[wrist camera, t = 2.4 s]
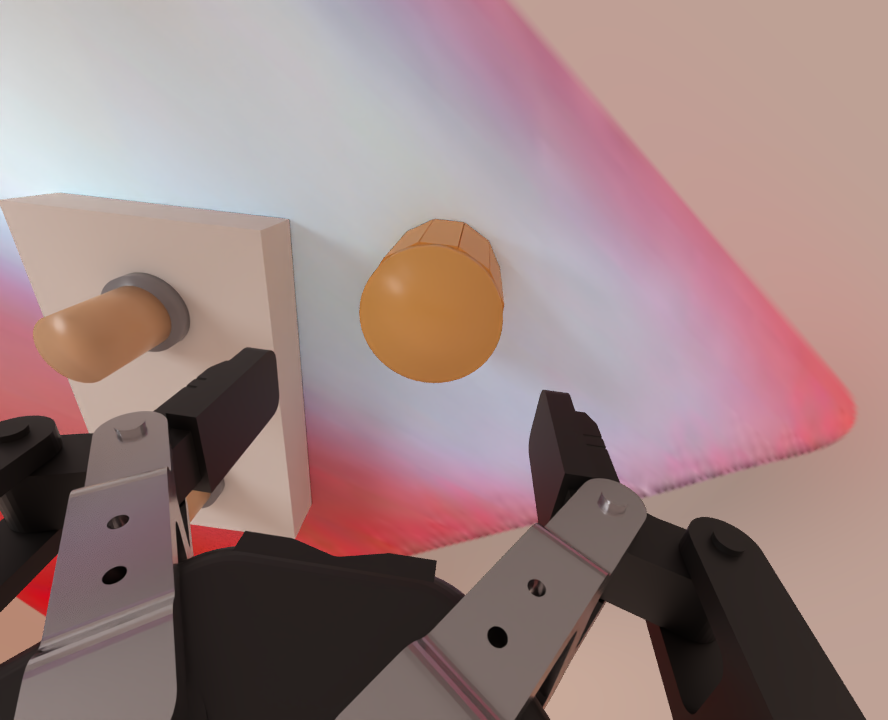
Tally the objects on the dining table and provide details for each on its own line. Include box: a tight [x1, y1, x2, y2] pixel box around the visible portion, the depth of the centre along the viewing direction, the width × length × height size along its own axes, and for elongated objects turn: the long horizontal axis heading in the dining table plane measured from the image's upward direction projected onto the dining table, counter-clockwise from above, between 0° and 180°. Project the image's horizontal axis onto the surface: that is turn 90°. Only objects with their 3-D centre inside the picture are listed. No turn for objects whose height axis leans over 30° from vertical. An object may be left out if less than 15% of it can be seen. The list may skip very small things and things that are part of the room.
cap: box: [359, 219, 504, 383], centre depth 19 cm, size 6×6×6 cm
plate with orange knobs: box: [0, 193, 312, 539], centre depth 22 cm, size 20×12×8 cm, turn 175°
